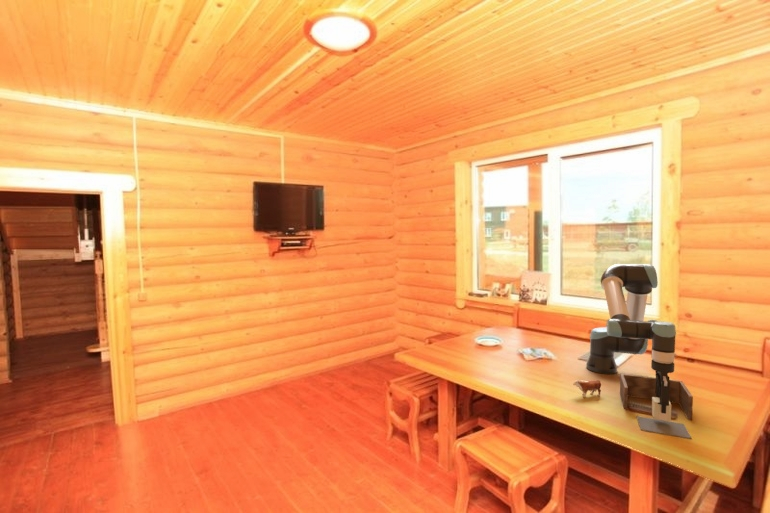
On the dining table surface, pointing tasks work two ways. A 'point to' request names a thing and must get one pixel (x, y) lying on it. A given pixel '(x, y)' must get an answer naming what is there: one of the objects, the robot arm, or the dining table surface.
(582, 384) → the bull figurine
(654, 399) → the beige block
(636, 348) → the robot arm
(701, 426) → the dining table surface
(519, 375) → the dining table surface
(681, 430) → the grey mat
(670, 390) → the open box
